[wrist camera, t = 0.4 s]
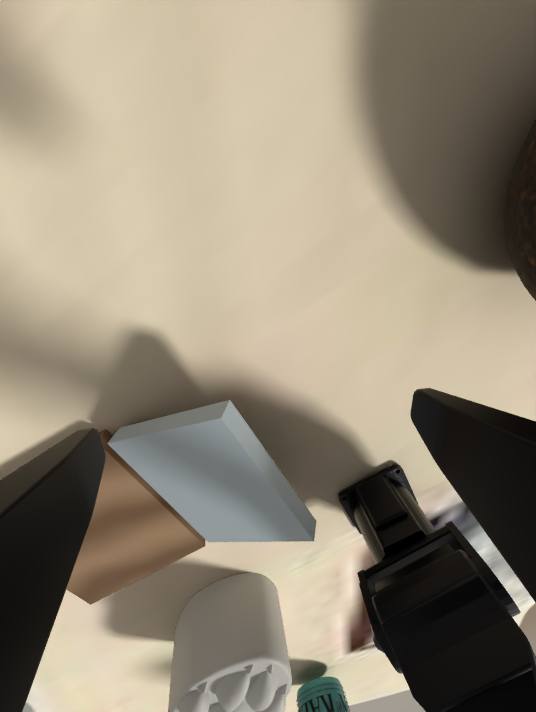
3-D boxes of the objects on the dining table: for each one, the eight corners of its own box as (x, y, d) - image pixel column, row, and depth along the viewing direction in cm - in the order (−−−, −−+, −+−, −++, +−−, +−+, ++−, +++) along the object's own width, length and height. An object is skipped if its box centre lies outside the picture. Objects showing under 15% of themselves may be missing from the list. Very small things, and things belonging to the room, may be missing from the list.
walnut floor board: (205, 529, 30) (205, 546, 28) (96, 585, 30) (90, 604, 29) (105, 429, 24) (98, 443, 22) (-27, 502, 24) (-42, 520, 23)
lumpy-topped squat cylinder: (165, 640, 36) (152, 760, 28) (207, 565, 32) (206, 681, 24) (250, 646, 39) (259, 754, 31) (298, 578, 35) (322, 684, 27)
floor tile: (316, 521, 25) (314, 541, 23) (214, 524, 29) (208, 541, 28) (229, 399, 19) (221, 417, 18) (120, 427, 23) (107, 443, 22)
